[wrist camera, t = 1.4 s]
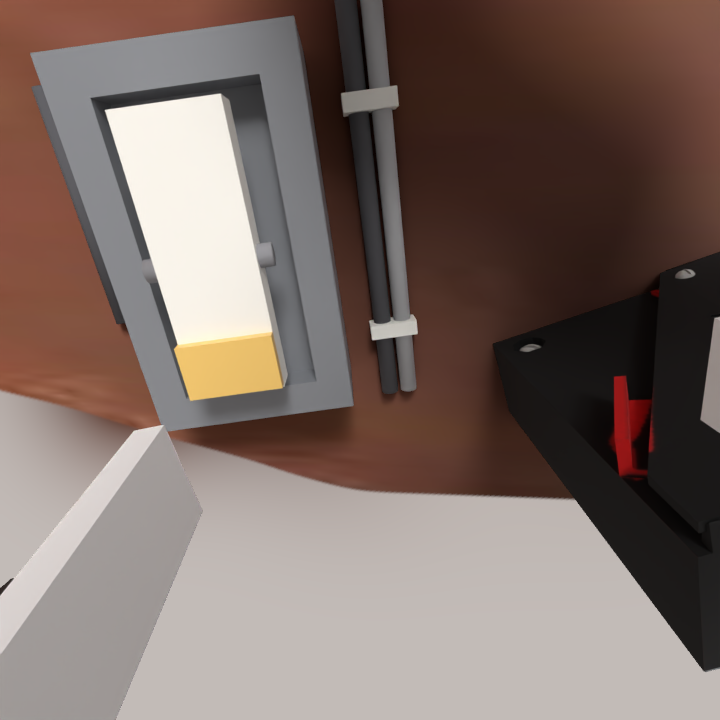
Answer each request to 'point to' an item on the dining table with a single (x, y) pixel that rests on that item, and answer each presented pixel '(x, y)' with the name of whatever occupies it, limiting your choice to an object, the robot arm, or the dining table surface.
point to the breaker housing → (266, 189)
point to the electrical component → (636, 436)
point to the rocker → (202, 242)
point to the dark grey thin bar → (77, 200)
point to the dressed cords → (358, 107)
